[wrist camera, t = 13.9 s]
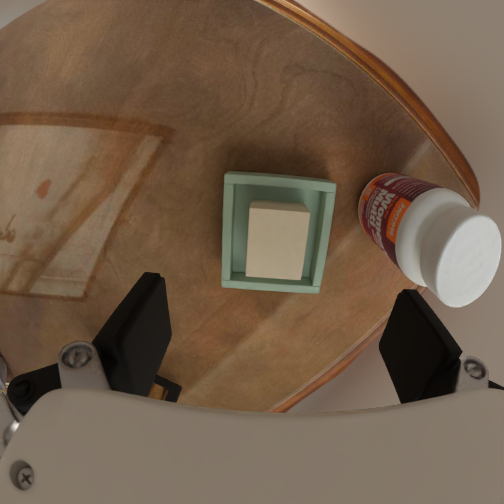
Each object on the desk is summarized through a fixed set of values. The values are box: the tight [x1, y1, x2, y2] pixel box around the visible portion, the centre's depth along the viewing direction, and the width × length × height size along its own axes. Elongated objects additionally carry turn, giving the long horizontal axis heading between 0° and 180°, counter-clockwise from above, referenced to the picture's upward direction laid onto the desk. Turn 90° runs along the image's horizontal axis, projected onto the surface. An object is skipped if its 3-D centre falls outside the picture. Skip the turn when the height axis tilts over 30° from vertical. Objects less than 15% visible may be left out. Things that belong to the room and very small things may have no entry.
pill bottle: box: [358, 173, 501, 307], centre depth 15 cm, size 6×6×11 cm
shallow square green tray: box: [221, 171, 337, 294], centre depth 21 cm, size 9×8×2 cm
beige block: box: [245, 199, 310, 280], centre depth 20 cm, size 5×4×3 cm
